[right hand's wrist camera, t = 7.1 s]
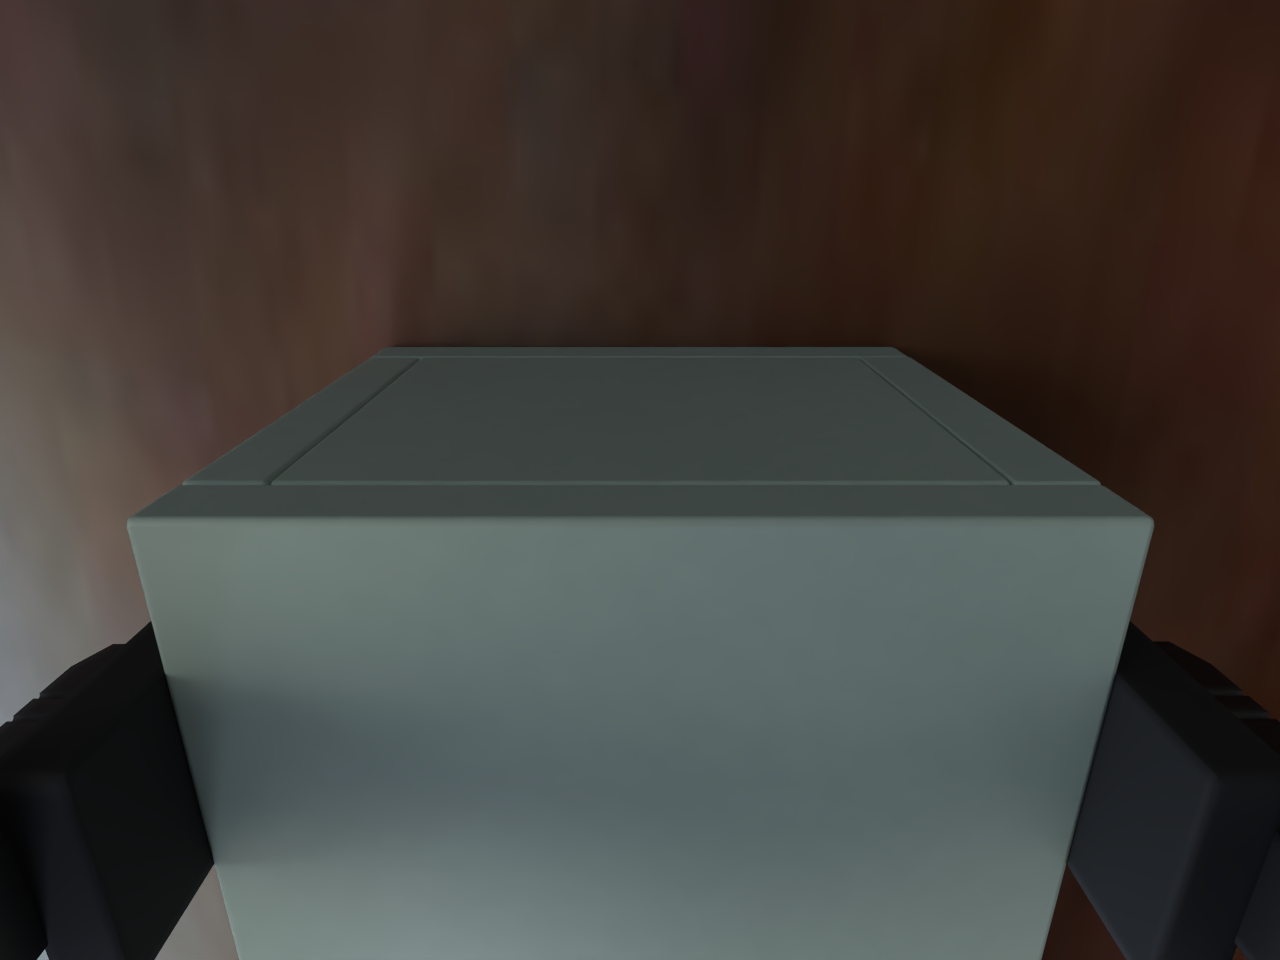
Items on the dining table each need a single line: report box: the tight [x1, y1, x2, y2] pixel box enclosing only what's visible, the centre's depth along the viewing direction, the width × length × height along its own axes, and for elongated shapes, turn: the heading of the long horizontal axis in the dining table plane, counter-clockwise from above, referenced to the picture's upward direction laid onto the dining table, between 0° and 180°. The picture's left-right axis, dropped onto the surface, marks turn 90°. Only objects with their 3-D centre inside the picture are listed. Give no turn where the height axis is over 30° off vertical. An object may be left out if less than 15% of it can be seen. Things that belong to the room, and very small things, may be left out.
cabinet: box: [127, 347, 1154, 960], centre depth 15 cm, size 21×10×8 cm, turn 0°
